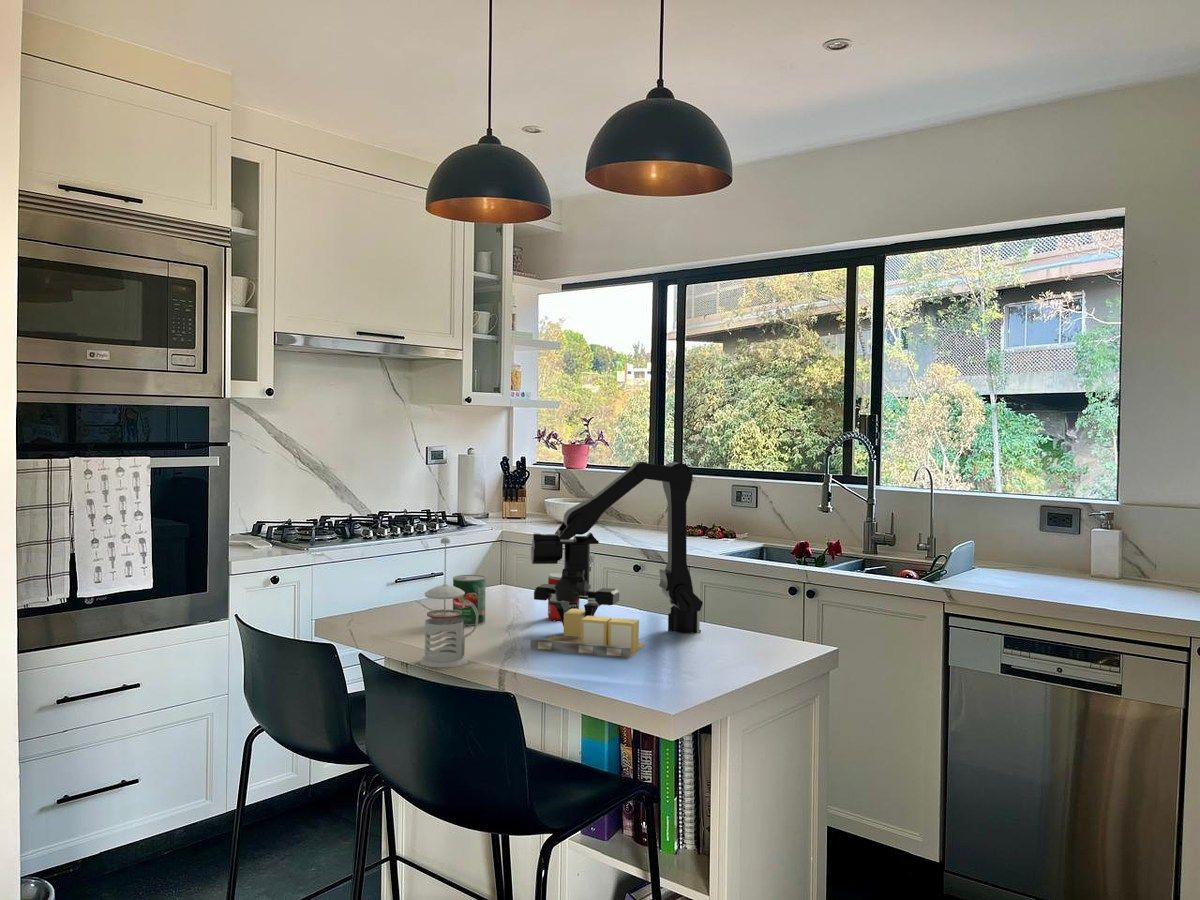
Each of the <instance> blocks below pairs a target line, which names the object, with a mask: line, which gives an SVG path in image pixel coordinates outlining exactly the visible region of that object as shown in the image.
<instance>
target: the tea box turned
mask: <svg viewBox="0 0 1200 900" xmlns="http://www.w3.org/2000/svg"><path fill="white" fill-rule="evenodd" d="M584 617H585V608H583V609H582V608H579V609H570V610H569V611H567V612H565V613H564V627H563V637H574V638H581V619H583V618H584Z"/></svg>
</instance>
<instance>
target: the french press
mask: <svg viewBox="0 0 1200 900" xmlns="http://www.w3.org/2000/svg"><path fill="white" fill-rule="evenodd" d="M440 544H444V583H443V584H441V585H437V586H434V587H433V588H430V589H429V590H426V591H425V592H424V596H425V598H427V599H433V600H443V601H444V602H443V608H444V609H440V608H439V609H433V610H430V611H428V612H427V613H426V616H427V617H429V618H427V619H425V621H424V625H425V626H424V627H425V628H424V656H423V657H422V658H421V659H420V660H419V664H420V665H423V666H424V667H430V668H452V667H460V666H463V665H465V664H467V663H469V658H468V657H467V656H466V655H465V647H466V645H465V644H466V643H465V640H466V639H465V638H467V637H469V636H471V634H473V633H474V632H475V630H476V628H477V627H478V625H477V624H478V611H477V609H476V606H475V605H474V604H473V603H472V602H470V601H468V600H464V602H463V603H462V606H463V608H464V607H465V603H467V604H469V605H470V606H471V607H472V608H473V609H474V608H475V609H476V611H475V609H474V611H475V615H476V624H475V626H474V628H473V629H472V630H471V631H470V632H468V633H466V634H465V635H464V633H465V631H464V630H465V629H464V627H465V626H464V619H462V618H458V617H460V616H461V615H462V614H463V613H462V612H461V611H459V610H453V609H447V608H446V600H453V599H455V598H460V597H463V596H464V595H465V592H464V591H463V590H461V589H459V588H457V587H454V586H453V585H448V584H446V577H447V576H446V571H447V570H446V569H447V568H446V567H447V566H446V565H447V563H446V562H447V559H446V558H447V544H451V540H450V538H449V537H442V538H441V539H440ZM466 601H468V602H470V603H471V604H472V605H473V606H474V607H473V606H472V605H471V604H470V603H468V602H466ZM476 612H477V613H476ZM453 622H455V623H457V624H454V623H453ZM447 623H451V624H447ZM445 631H447V632H445ZM442 632H445V633H442ZM435 635H436V636H435ZM431 636H434V637H431ZM443 638H445V639H443ZM441 639H443V640H441ZM436 641H437V642H436ZM431 642H435V643H431ZM444 644H445V645H444ZM441 645H443V646H441ZM438 646H441V647H438ZM436 647H438V648H436ZM431 648H432V649H431ZM433 648H436V649H433Z"/></svg>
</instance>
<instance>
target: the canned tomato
mask: <svg viewBox="0 0 1200 900" xmlns="http://www.w3.org/2000/svg"><path fill="white" fill-rule="evenodd" d="M486 579H487V578H486V576H484V575H480V574H460V575H455V576H453V577H452V586H454V587H457V588H459V589H461V590H463V591H464V592H465V595H464V596H463V597H460V598H455V599H452V610H459V611H461V612H462V613H463V614H462V615H461V616H460V617H458V618H462V619H464V625H475V624H476V615H475V611H476V609H477V611H478V624H477V626H480V625H479V624H481V625H484V624H485V623H486V586H487V583H486ZM464 600H468V601H470V602H472V603H473V604H474V605H475V606H476V609H475V608H474V609H475V611H474V609H473V608H472V607H471V606H470V605H469V604H467V603H465V607H464V608H463V606H462V603H463V602H464ZM468 601H466V602H468ZM470 602H468V603H470ZM470 604H471V603H470ZM471 605H472V604H471ZM472 606H473V605H472ZM473 607H474V606H473ZM476 613H477V612H476ZM483 623H484V624H483ZM452 624H457V623H455V622H452Z"/></svg>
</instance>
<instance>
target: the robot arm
mask: <svg viewBox="0 0 1200 900" xmlns="http://www.w3.org/2000/svg"><path fill="white" fill-rule="evenodd" d="M693 477H694V475H693V470H692V468H691V467H690V466H689V465H688V464H686V463H684V462H683V463H681V462H675V461H670V462H668V463H666V464H665V465H663V464H662V465H661V464H657V463H656V464H655V463H648V462H646V461H640V460H639V461H635V462H634V463H633V464H632V465H631V467H629V468H628V469H626V471H624V472H623V473H622V474H621V475H619V476H618V477H617V478H615V479H613V481H611V482H610V483H609V484H608V485H607V486H605V487H604V488H603V489H602V490H600V491H599V492H597V493H595V495H594V496H592V497H591V498H588V499H586V500H583V501H582V502H579V503H577V504H576V505H574V506H572V507H570V508H568V509H567V510H566V511H565V512H564V515H563V522H562V523H561V525H560V526H559V527H558V528H557V530H556V531H555V532H554V533H535V532H534V533H533V534H532V541H531V546H530V558H531V559H530V560H531V561H530V562H531V564H532V565H557V564H558V561H559V562H560V561H561V560H563V559H564V560H563V561H564V563H563V565H564V566H563V567H564V568H562V571H561V572H562V577H561V579H560V580H559V581H558V583H557V584H556V585H553V584H548V583H543V584H540V585H538V586H536V587H535V588H534V591H533V600H536V601H548V598H549V597H550V596H551V598H550V602H549V603H550V604H552V605H554V606H555V608H556V609H557V611H558V613H559V615H560V618H561V621H562V622H561V623H562V627H563V628H564V613H565V612H567V611H569V602H576V601H577V600H578V599H579V600H587V603H584V605H583V606H584V608H583V609H585V617H586V616H595V613H596V612H597V610H598V608H599V607H601V606H614V605H615V604H617V603H618V602H620V592H619V590H618V588H607V587H602V588H600V589H598V590H596V591H595V590H594V591H593V590H591V589H592V588H591V587H592V586H591V584H590V572H592V566H591V565H590V560H591V559H590V558H591V557H590V556H591V545H598V544H599V543H600V541H599V540H598V539H597V538H596V537H595V536H594V534H593V533H592V532H589V531H590V530H591V529H592V528H593V527H594V526H595V524H597V522H598V521H599V520H600V518H601V517H602V515H604V512H605V511H606V510H608V509H609V508H610V507H611V506H613V505H614V504H615V503H617V502H618V501H619V500H620V499H621V498H623V497H624V496H626V495H627V493H629V492H630V491H631V490H633V489H634V488H635V487H637V486H638V485H639V484H640V483H642V482H643V481H645V480H649V481H650V480H652V481H656V482H657V481H658V482H661V483H662V488H663V491H664V494H665V497H666V500H667V501H666V502H667V563H666V565H665V568H664V569H662V568H660V569H659V577H660V580H659V581H660V582H659V584H658V586H659V587H660V588H661V591H662V593H663V595H664V596H665V597H666V598H668V600H669V602H670V604H671V605H672V606H671V607H670V612H669V613H668V614H667V617H668V618H667V631H668V632H675V633H680V634H699V635H700V634H701V633H702V630H701V629H700V625H701V624H700V621H701V620H700V619H701V618H700V617H701V616H700V615H701V613H700V612H701V610H702V607H703V605H704V603H703V600H701V599H700V598H699V597H698V596H697V595H696V594H695V593H694V589H693V582H692V577H691V573H690V570H689V567H688V562H687V561H688V560H687V555H688V554H687V552H688V551H687V502H688V498H689V496H690V492H691V489H692V483H693ZM586 533H587V534H586ZM585 534H586V535H585ZM572 538H573V539H572ZM563 545H564V546H563ZM563 547H564V549H563ZM563 551H564V552H563ZM563 553H564V554H563ZM563 555H564V558H563Z"/></svg>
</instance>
